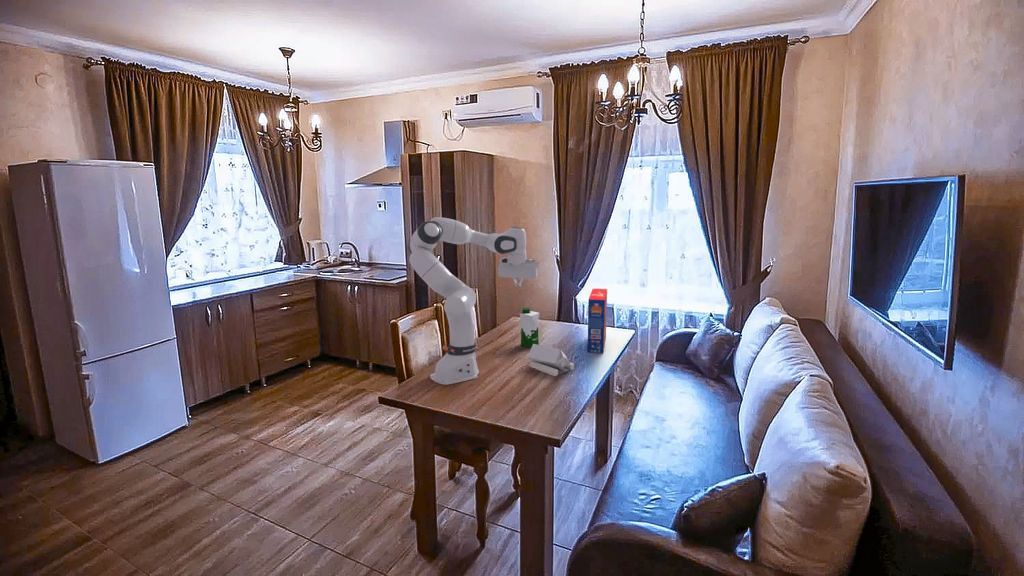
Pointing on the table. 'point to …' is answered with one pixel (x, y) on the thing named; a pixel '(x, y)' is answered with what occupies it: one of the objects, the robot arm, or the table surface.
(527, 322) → the soya milk
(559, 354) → the milk carton
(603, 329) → the pasta box
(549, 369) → the cradle
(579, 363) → the table surface
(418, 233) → the robot arm
